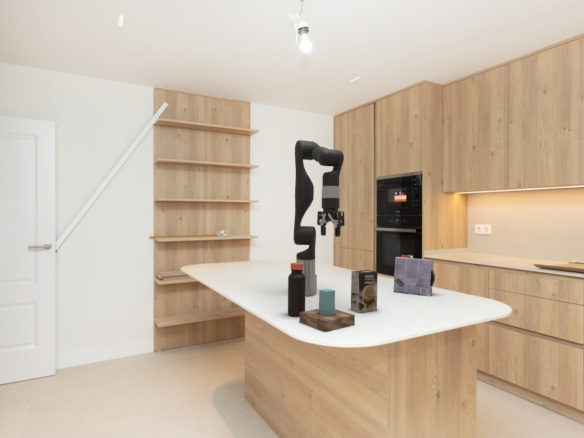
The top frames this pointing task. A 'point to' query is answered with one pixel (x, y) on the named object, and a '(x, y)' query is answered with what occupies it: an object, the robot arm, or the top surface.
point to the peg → (326, 302)
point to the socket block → (326, 320)
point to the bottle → (296, 290)
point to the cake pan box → (413, 276)
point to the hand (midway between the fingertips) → (330, 236)
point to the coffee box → (364, 290)
